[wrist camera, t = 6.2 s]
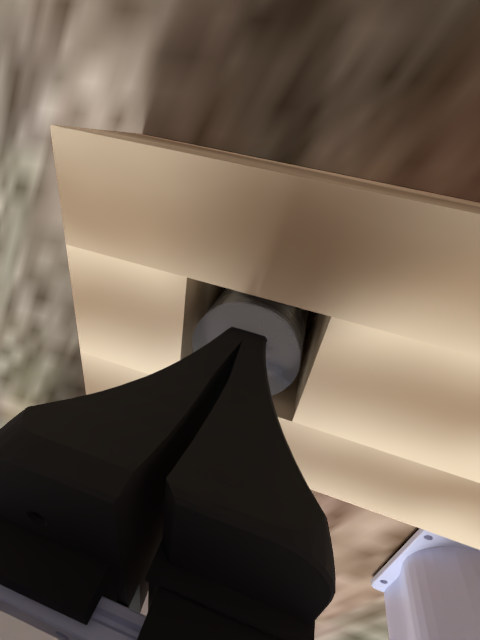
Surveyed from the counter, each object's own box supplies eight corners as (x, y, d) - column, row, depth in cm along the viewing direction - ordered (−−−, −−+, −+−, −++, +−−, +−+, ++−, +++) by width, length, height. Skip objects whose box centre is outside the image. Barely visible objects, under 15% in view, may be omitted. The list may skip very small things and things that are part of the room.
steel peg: (296, 346, 16) (284, 410, 12) (223, 325, 16) (188, 379, 12) (320, 274, 14) (314, 323, 10) (235, 253, 14) (197, 291, 10)
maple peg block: (603, 500, 15) (705, 631, 11) (142, 353, 19) (88, 409, 15) (908, 289, 9) (1384, 402, 5) (141, 134, 13) (49, 124, 9)
